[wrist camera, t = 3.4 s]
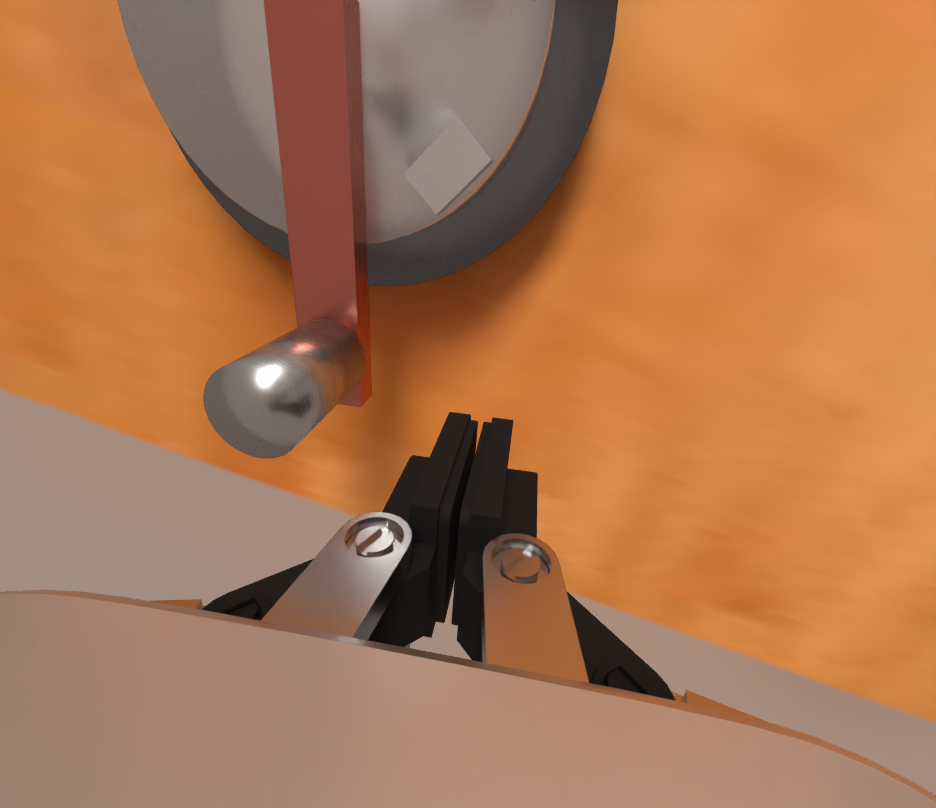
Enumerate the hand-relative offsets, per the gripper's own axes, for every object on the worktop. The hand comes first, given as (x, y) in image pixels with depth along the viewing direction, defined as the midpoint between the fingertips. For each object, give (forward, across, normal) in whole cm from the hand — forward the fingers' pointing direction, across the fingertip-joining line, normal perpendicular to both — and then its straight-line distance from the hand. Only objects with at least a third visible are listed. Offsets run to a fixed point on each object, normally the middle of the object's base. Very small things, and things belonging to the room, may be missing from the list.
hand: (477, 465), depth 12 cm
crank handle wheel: (+9, +7, -8) cm, 14 cm away
